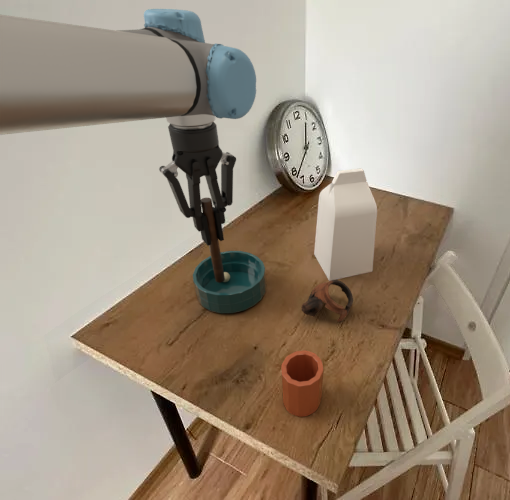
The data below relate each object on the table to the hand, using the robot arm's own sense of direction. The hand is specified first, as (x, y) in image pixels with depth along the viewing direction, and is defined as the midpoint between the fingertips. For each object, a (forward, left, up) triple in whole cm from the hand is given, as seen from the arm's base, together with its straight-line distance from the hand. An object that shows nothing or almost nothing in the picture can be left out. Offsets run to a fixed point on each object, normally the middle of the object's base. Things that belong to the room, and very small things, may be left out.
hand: (213, 239), depth 72 cm
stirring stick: (0, 0, -11) cm, 11 cm away
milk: (+30, -7, -16) cm, 35 cm away
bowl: (+2, 0, -15) cm, 16 cm away
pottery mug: (+15, -18, -16) cm, 29 cm away
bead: (+2, +3, -15) cm, 16 cm away
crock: (-1, -32, -15) cm, 36 cm away
